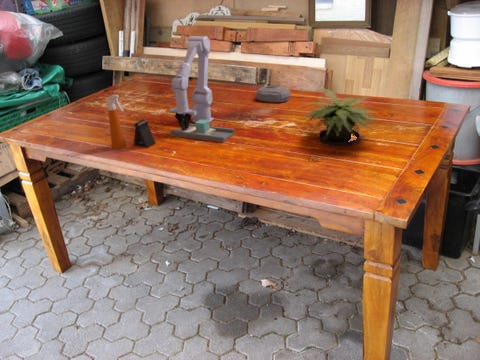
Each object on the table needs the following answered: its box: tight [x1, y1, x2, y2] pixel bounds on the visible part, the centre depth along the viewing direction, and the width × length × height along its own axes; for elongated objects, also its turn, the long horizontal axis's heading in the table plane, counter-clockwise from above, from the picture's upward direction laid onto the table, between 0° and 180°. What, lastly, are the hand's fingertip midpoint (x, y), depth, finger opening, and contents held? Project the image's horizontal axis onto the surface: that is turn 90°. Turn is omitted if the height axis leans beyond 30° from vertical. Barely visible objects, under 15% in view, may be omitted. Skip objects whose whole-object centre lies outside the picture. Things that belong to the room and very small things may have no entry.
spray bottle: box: [104, 94, 128, 150], centre depth 213 cm, size 7×11×26 cm, turn 58°
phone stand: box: [133, 118, 156, 149], centre depth 217 cm, size 9×6×12 cm, turn 59°
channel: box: [170, 123, 235, 143], centre depth 226 cm, size 30×12×2 cm, turn 65°
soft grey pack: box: [255, 84, 291, 104], centre depth 269 cm, size 15×8×20 cm
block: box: [194, 119, 210, 133], centre depth 225 cm, size 5×5×5 cm
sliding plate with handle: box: [180, 120, 216, 135], centre depth 226 cm, size 17×9×5 cm, turn 64°
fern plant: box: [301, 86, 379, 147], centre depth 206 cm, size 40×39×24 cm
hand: (184, 127), depth 230 cm, fingers open, 2 cm apart
